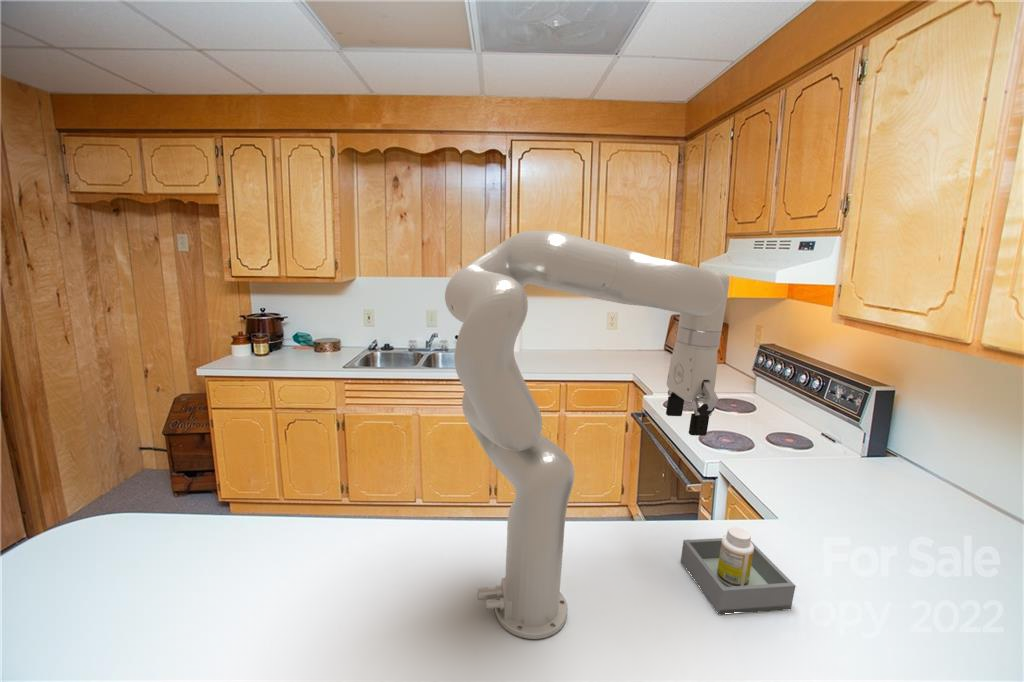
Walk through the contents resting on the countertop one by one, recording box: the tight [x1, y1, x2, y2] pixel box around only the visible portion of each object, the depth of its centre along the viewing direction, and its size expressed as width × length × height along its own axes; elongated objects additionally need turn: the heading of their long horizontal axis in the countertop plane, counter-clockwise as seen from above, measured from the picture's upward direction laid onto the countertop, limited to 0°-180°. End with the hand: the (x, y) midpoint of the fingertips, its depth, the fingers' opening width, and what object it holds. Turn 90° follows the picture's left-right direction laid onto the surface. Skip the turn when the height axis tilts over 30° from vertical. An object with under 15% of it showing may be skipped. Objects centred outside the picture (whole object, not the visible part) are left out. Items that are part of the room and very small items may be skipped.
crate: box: [680, 537, 796, 615], centre depth 90 cm, size 14×14×5 cm
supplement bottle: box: [717, 525, 754, 587], centre depth 89 cm, size 6×6×10 cm
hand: (684, 424), depth 91 cm, fingers open, 9 cm apart
